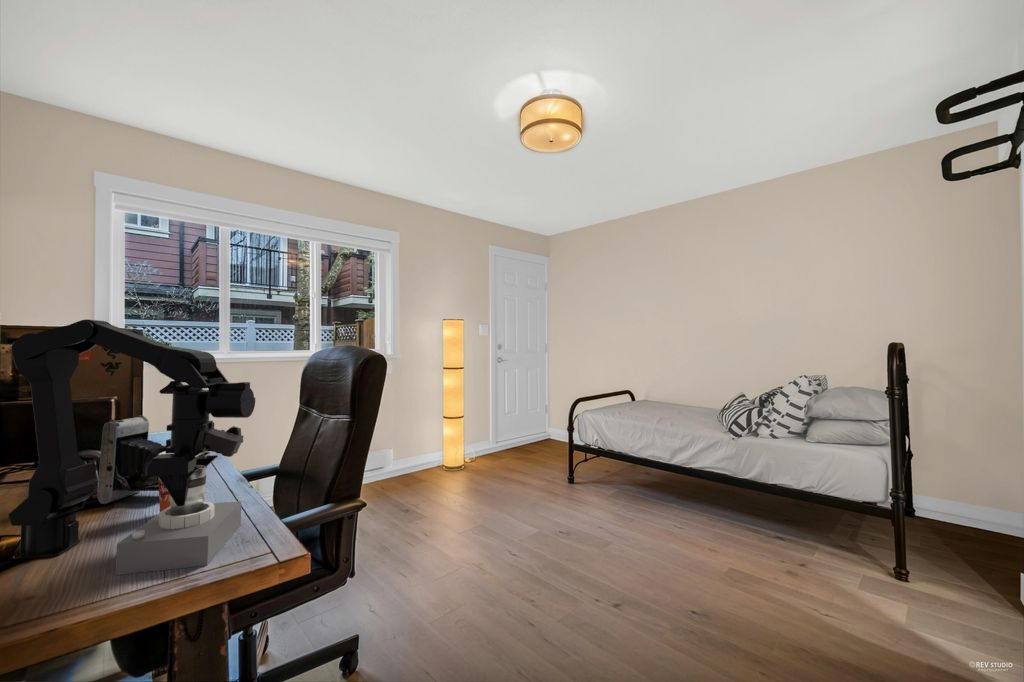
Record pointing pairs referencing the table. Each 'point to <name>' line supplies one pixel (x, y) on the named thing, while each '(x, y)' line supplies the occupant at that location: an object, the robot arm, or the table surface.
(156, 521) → the camera body
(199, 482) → the lens
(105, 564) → the table surface
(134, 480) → the vintage camera
